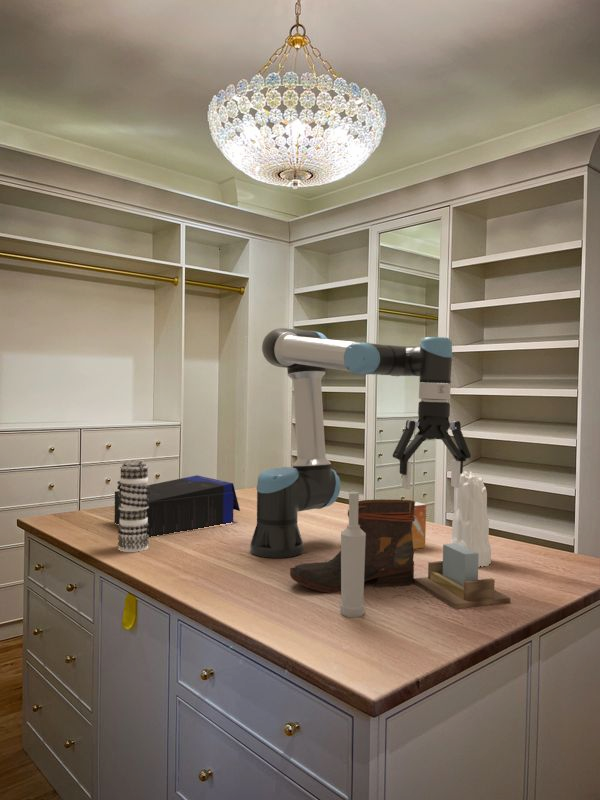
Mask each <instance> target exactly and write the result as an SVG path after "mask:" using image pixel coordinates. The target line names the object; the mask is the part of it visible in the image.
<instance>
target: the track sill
mask: <svg viewBox="0 0 600 800" xmlns="http://www.w3.org/2000/svg"><path fill="white" fill-rule="evenodd" d="M427 563H428V565H427V566H428V567H427V571H428V572H427V573H428V575H427V576H425V577H416V578H415V577H414V582H413V584H415V585H416V586H418V587H420V588H421V589H423V590H424V589H425V590H424V591H426V592H427V591H428V593H429V592H430V593H429V594H431V595H432V594H433V595H432V596H434V597H435V596H436V598H437V597H438V598H439V599H438V598H437V599H438V600H440V599H441V600H440V601H442V602H443V601H444V602H443V603H445V604H446V603H447V605H448V606H450V607H451V608H452V609H455V610H457V609H465V608H467V609H468V608H474V606H476V607H482V606H483V605H484V606H491V605H490V604H493V605H501V604H510V603H511V597H509V596H508V595H506V594H504V593H502V592H499V590H495V583H496V582H495V579H494V578H484V579H478V580H471V581H464V587H463V586H461V585H459V584H457V583H455V582H454V581H452V580H450V579H448V578H446V577H444V576H443V560H438V561H428V562H427ZM484 606H483V607H484Z"/></svg>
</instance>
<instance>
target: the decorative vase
mask: <svg viewBox="0 0 600 800" xmlns="http://www.w3.org/2000/svg"><path fill="white" fill-rule="evenodd" d="M487 491H488V490H487V488H486V486H485V484H484V480H483V478H482V477H477V476H475V475H474V473H473V472H472V471H469V473H468V471H465V470H463V472H462V474H460V486H459V488H456V487H453V518H452V523H451V527H452V528H451V531H452V532H451V540H450V543H449V544H455V543H456V544H459V545H461V546H463V547H465V548H468V549H470V550H472V551H474V552H477V553H478V568H484V567H483V566H486V567H488V566H490V565H491V562H492V546H491V543H490V541H489V534H490V530H489V529H490V520H489V516H488V506H487V505H488V492H487ZM489 564H490V565H489ZM480 566H481V567H480Z"/></svg>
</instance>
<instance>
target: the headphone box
mask: <svg viewBox="0 0 600 800" xmlns="http://www.w3.org/2000/svg"><path fill="white" fill-rule="evenodd" d="M147 486H150V489H147V491H149V492H150V494H147V497H148V498H149V499H150V500H149V501H148V502H147V503H148V504H149V508H147V517H148V523H149V526H148V527H147V528H148V529H149V532H147V534H148V535H149V537H150V538H152V537H151V536H157V535H163V534H169V533H174V532H180V531H187V530H193V529H198V528H204V527H209V526H214V525H220V524H226V523H231V522H233V523H234V510H235V511H238V512H240V511H241V509H240V505H239V502H238V497H237V493H236V490H235V486H234V483H232V482H228V481H225V480H219V479H215V478H210V477H206V476H201V475H197V474H196V475H191V476H188V477H181V478H177V479H172V480H167V481H161V482H158V483H151V484H147ZM119 492H120V491H119V490H117V491H114V524H115V523H116V524H120V509H119V505H120V504H121V503H119V502H118V498H119V496H118V493H119ZM116 524H115V525H116ZM169 535H170V534H169ZM163 536H164V535H163ZM157 537H158V536H157Z"/></svg>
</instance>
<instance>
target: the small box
mask: <svg viewBox="0 0 600 800" xmlns="http://www.w3.org/2000/svg"><path fill="white" fill-rule="evenodd" d="M414 511H415V512H414V514H415V515H414V517H415V521H414V522H412V541H413V549H414V550H419V549H425V548H426V525H427V504H426V503H422V502H419V501H418V502H417V501H415V507H414ZM424 547H425V548H424ZM418 548H419V549H418Z"/></svg>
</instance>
